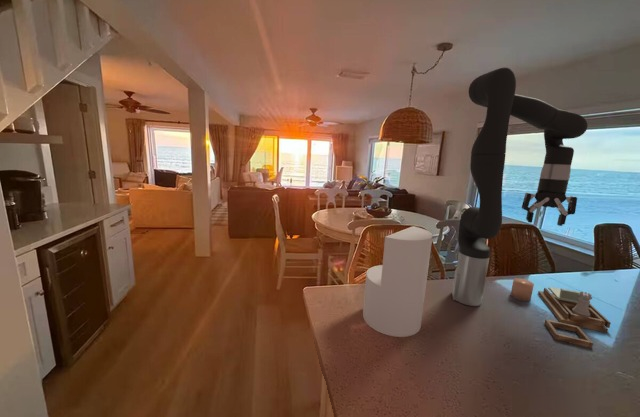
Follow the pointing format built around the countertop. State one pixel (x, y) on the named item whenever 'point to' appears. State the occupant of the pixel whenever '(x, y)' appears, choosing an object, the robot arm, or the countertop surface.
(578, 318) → the shallow wooden box
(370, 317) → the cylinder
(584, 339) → the wooden square frame
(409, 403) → the countertop surface
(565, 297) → the cover
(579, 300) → the rook chess piece
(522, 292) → the tan rounded block
